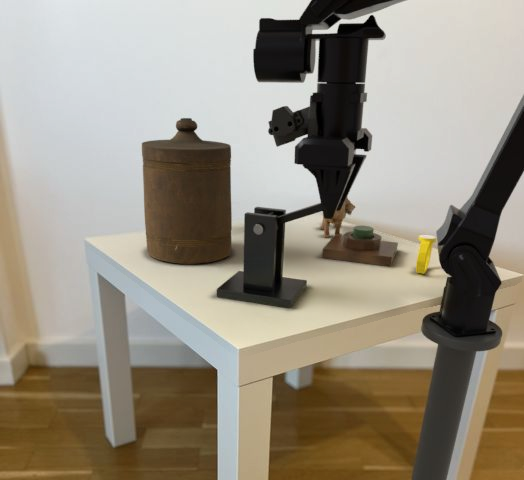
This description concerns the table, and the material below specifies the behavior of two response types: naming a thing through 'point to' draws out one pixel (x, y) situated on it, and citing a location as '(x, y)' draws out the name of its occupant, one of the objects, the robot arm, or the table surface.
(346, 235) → the button box
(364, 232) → the button
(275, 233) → the bracket
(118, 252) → the table surface
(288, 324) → the table surface
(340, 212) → the lion figurine
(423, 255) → the watch
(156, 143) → the wooden container
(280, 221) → the lever
